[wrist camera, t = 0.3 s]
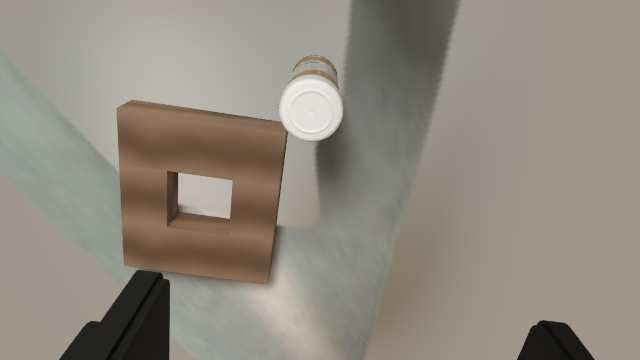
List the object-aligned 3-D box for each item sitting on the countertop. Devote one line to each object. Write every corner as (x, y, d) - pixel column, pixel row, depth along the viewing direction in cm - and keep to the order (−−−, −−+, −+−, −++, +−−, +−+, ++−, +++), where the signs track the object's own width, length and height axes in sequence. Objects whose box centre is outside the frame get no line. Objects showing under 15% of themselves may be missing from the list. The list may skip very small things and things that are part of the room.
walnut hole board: (132, 99, 42) (116, 108, 39) (288, 123, 43) (286, 133, 40) (137, 248, 49) (124, 265, 46) (270, 266, 50) (267, 284, 47)
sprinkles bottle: (293, 101, 42) (280, 144, 30) (290, 54, 40) (275, 80, 28) (338, 99, 42) (344, 142, 30) (337, 52, 40) (343, 77, 28)
